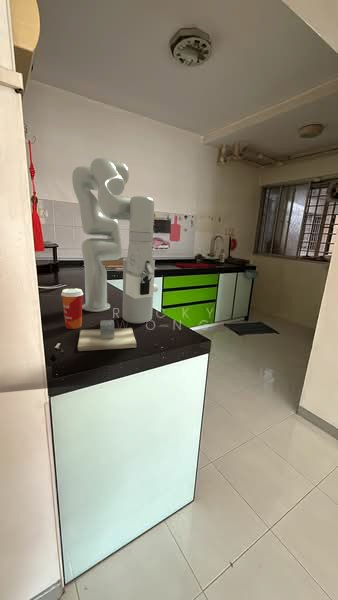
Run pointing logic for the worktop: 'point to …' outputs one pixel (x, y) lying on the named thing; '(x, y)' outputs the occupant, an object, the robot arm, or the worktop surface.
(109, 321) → the block
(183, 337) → the worktop surface
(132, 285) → the duct collar
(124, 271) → the cylinder vase
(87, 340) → the board
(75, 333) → the worktop surface
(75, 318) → the paper cup
